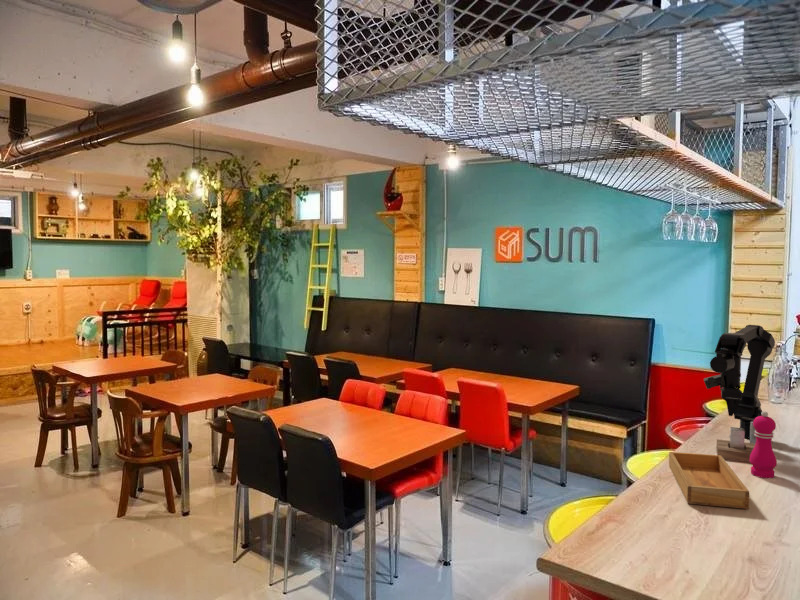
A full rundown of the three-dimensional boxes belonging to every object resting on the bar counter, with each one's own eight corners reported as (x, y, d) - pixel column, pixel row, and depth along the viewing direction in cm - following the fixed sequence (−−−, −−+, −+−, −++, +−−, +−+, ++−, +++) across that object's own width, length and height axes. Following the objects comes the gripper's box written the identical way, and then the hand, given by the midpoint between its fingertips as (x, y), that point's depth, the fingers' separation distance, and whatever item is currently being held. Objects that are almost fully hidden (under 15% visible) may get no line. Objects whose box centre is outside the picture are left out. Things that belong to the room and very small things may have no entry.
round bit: (749, 444, 211) (749, 420, 210) (762, 446, 209) (763, 421, 208) (749, 448, 207) (750, 423, 207) (763, 449, 205) (764, 424, 205)
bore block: (716, 447, 208) (716, 439, 208) (755, 452, 203) (756, 443, 203) (717, 458, 198) (717, 449, 197) (759, 463, 192) (759, 454, 192)
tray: (668, 467, 191) (669, 450, 191) (720, 471, 187) (721, 454, 186) (686, 506, 162) (687, 485, 161) (748, 512, 157) (749, 491, 157)
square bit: (729, 452, 203) (730, 426, 202) (743, 454, 201) (744, 428, 201) (730, 456, 200) (731, 430, 199) (743, 457, 198) (744, 431, 197)
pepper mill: (768, 470, 186) (771, 408, 184) (781, 479, 179) (783, 414, 177) (744, 470, 186) (746, 408, 185) (756, 478, 179) (758, 414, 178)
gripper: (705, 363, 220) (704, 404, 221) (705, 372, 203) (704, 416, 205) (739, 365, 215) (738, 407, 216) (743, 374, 198) (741, 420, 200)
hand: (729, 412), depth 209 cm, fingers open, 9 cm apart
